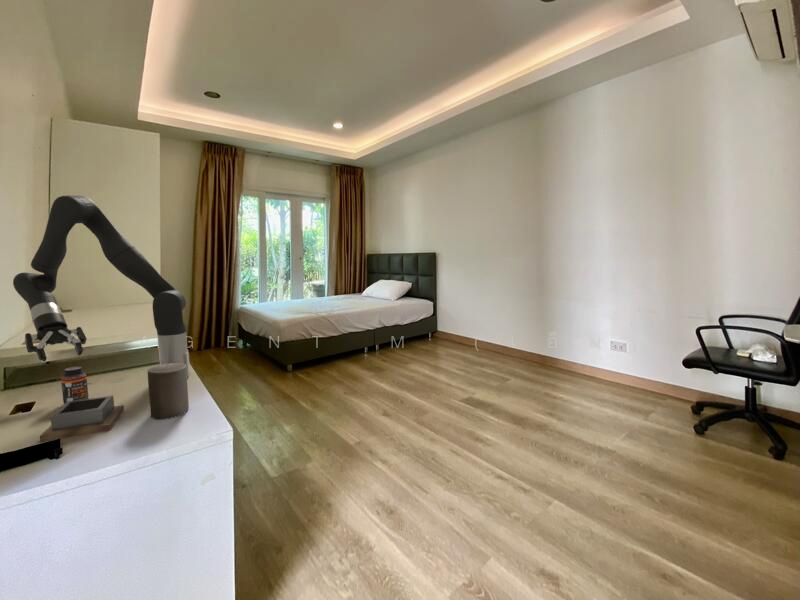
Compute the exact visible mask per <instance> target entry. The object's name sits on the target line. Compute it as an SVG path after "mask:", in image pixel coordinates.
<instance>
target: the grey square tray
mask: <svg viewBox="0 0 800 600" xmlns="http://www.w3.org/2000/svg"><path fill="white" fill-rule="evenodd" d="M114 406H115V401H114V395H106V396H100V397H99V396H98V397H91V398H89V399H83V400H76V401H68V402H66V403H65V404H64V403H63V404H62V406H60V407H59V408H58V409H57V410H56V411H54V413H52V414H51V415H50V426H52V431H57V430H64V429H70V428H76V427H82V426H89V425H95V424H101V423H104V422H105V420H106V419H107V418H108V416H109V415H110V414H111V412H112V411H113V410H114Z"/></svg>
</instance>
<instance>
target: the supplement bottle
mask: <svg viewBox="0 0 800 600" xmlns="http://www.w3.org/2000/svg"><path fill="white" fill-rule="evenodd" d="M60 383H61V391H62V392H61V394H62V400H63V401H62V402H63V405H64V404H65V403H66V402H68V401H76V400H83V399H90V398H89V387H88V386H89V385H88V379H87V374H86V373H84V372H83V368H82V366H72V367H71V366H70V367H67V368H65V369H64V375H63V376H62V377H61V380H60Z"/></svg>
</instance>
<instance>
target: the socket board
mask: <svg viewBox="0 0 800 600" xmlns="http://www.w3.org/2000/svg"><path fill="white" fill-rule="evenodd" d="M124 411H125V405H116V406H115V405H114V410H113V411H112V412H111V414H110V415H109V416H108V418H107V419H106V420H105V422H104V423H101V424H95V425H89V426H82V427H76V428H70V429H64V430H57V431H52V426H51V425H50V426H49V427H47V428H46V429H45V430H44V431H43V432H42V433H41V434H40V435H39V442H46V441H53V440H59V439H65V438H70V437H76V436H82V435H88V434H95V433H101V432H105V431H106V432H107V431H111V430H112V428H113V427H114V425H115V424H116V422H117V421H118V419H119V418H120V417H121V415H122V414H123V412H124Z"/></svg>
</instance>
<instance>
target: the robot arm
mask: <svg viewBox="0 0 800 600" xmlns="http://www.w3.org/2000/svg"><path fill="white" fill-rule="evenodd" d="M76 224H82V225H83V226H85V227H86V228H87V229H88V230H89V231H90V232H91V233H92V234H93V235H94V236H95V237H96V238H97V240H98V242H99V244H100V247H101V250H102V252H103V255H104V257H105V258H106V259H107V261H108V262H109V263H110V264H111V265H112V266H113V267H114V268H115V269H116V270H117V271H119V272H120V273H121V275H123V276H124V277H126V278H127V279H129V280H130V281H132V282H134V283H135V284H137V285H139V286H140V287H141V288H143V289H144V290H145V291H146V292H147V293H149V295H150V296H151V297H152V298H153V299H152V316H153V322H154V327H155V329H156V334H157V346H158V347H157V348H158V358H159V365H163V364H166V363H167V364H170V363H180V364H185V365H186V366H187V367H186V369H187V378H189V377H190V374H191V369H190V351H189V349H188V341H187V340H188V339H187V326H186V325H185V323H184V317H183V310H184V309H185V307H186V304H187V300H186V298H185V296H184V295H183V293H182V292H180V291H179V290H178V289H177V288H175V287H174V286H173V285H172V284H171V283H170V282H168V281H167V280H166V279H165V278H164V277H162V275H161V274H160V273H159V272H158V270H156V268H155V267H154V266H153V265H152V263H150V262H149V261H148V259H147V258H145V256H144V255H143V254H142V253H141V252H140V251H139V250H138V248H136V246H134V245H133V244H132V243H131V242H130V241H129V240H128V239H127V238H126V237H125V236H124V234H122V233H121V231H119V230H118V229H117V228H116V227H115V225H114V224H113V223H112V222H111V221H110V219H109V218H108V217H107V216H106V215H105V213H104V212H103V211H102V210H101V208H100V207H99V206H98V205H97V204H96V202H94V201H93V200H92V199H90V198H89V197H87V196H83V195H61V196H59V197H56V199H55V200H54V201H53V202H52V205H51V208H50V211H49V216H48V220H47V222H46V226H45V231H44V234H43V236H42V241H41V242H40V245H39V246H38V249H37V250H36V252H35V254H34V255H33V258H32V260H31V262H30V266H31V268H32V269H33V270H34V271H37V272H39V273H33V272H20V273H17V274H16V275H15V276H14V277H13V279H12V280H13V281H12V285H13V288H14V290H15V291H16V292H17V294H18V295H19V297H21V298H22V299H23V300H24V301H25V302H26V303H27V305H28V309H29V311H30V316H31V321H32V323H33V325H34V327H35V331H36V333H34V334H31V333H30V332H28V333H25V334H24V342H25V346H26V347H25V348H26V351H27V353H30V354H31V353H36V355H37V357H38V360H40V361H42V362H47V358H48V357H47V355H46V352H45V350H44V349H45V348H46V347H47V346H48V345H50V346H53V345H56V344H64V343H65V344H68V345H72V346H74V350H75V352H76V355H77V356H82V354H83V352H84V349H83V346H82V345H85V344H86V343H87V339H88V338H87V337H86V334H85V332H84V330H83V329H82V326H77V327H76V328H73V329H70V328H69V327H68V324H67V322H66V319H65V317H64V314H63V312H62V309H61V308H60V306H59V304H58V302H57V299H56V297H55V295H54V294H52V292H54V291H55V290H56V287H57V277H58V271H59V269H60V266H61V265H62V263H63V261H64V260H65V257H66V255H67V251H68V250H67V249H68V248H67V238H68V235H69V233H70V232H71V230H72V229H73V227H75V225H76ZM40 273H42V274H40ZM72 334H73V335H74V336H73V335H72ZM75 336H77V338H76V337H75ZM35 339H36V340H39V341H40V342H39V344H38V345H37V346H36V345H35V346H34V341H35Z"/></svg>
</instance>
